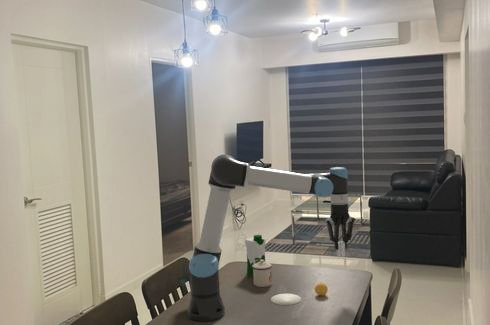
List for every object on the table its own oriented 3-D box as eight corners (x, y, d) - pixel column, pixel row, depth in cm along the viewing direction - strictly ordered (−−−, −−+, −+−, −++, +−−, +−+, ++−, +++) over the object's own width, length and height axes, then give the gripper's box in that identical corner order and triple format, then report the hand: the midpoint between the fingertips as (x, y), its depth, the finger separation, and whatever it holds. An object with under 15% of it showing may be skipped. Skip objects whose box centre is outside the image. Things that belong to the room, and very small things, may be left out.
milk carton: (255, 278, 247) (254, 238, 245) (244, 274, 254) (242, 235, 252) (269, 274, 252) (267, 234, 251) (257, 270, 259) (255, 232, 258)
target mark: (274, 306, 209) (274, 306, 209) (267, 295, 222) (267, 295, 222) (304, 303, 212) (304, 302, 212) (296, 292, 224) (296, 292, 224)
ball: (317, 298, 216) (317, 285, 216) (313, 293, 222) (313, 281, 221) (329, 296, 217) (329, 284, 217) (325, 292, 223) (324, 280, 222)
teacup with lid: (273, 286, 234) (272, 262, 233) (254, 287, 233) (253, 263, 232) (270, 278, 246) (269, 255, 245) (252, 279, 245) (250, 256, 244)
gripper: (326, 205, 213) (328, 260, 215) (358, 203, 215) (360, 257, 217) (320, 203, 220) (322, 255, 222) (351, 200, 222) (353, 252, 225)
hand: (341, 256), depth 220 cm, fingers closed
